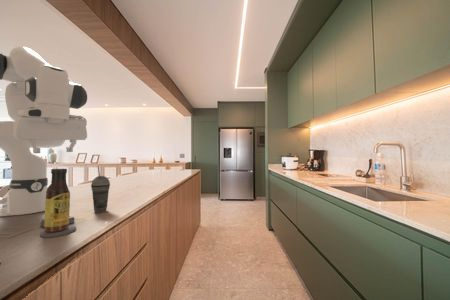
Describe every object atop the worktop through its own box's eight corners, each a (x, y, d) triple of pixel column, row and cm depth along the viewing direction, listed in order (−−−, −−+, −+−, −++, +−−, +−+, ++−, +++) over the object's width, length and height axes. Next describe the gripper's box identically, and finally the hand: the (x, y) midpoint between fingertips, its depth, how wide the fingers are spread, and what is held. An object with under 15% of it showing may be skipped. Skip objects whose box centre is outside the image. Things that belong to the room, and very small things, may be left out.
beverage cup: (103, 214, 86) (104, 166, 87) (86, 213, 86) (87, 166, 87) (113, 209, 94) (113, 165, 94) (97, 209, 94) (97, 165, 94)
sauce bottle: (55, 234, 63) (55, 169, 64) (38, 232, 64) (39, 169, 65) (74, 226, 70) (75, 168, 70) (59, 225, 71) (59, 167, 71)
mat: (34, 234, 64) (34, 232, 64) (66, 225, 73) (66, 223, 73) (49, 239, 61) (49, 237, 61) (81, 229, 69) (81, 227, 69)
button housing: (40, 225, 72) (40, 219, 72) (63, 219, 79) (63, 214, 79) (51, 228, 69) (51, 222, 69) (74, 222, 76) (74, 217, 76)
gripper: (82, 116, 83) (82, 150, 84) (10, 109, 66) (11, 152, 67) (90, 116, 79) (90, 152, 81) (16, 109, 62) (17, 155, 63)
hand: (54, 152), depth 73 cm, fingers open, 8 cm apart
